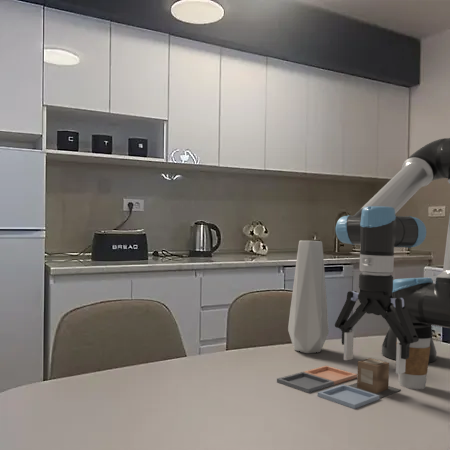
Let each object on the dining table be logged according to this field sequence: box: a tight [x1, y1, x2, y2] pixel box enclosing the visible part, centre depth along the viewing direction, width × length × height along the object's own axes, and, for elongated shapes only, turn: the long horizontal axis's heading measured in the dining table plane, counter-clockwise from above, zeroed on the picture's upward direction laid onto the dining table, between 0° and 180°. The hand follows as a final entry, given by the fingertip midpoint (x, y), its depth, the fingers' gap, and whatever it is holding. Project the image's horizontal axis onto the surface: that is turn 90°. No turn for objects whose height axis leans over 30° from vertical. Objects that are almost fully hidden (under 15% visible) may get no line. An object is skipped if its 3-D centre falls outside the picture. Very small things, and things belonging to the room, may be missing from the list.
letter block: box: [356, 357, 390, 393], centre depth 116 cm, size 5×5×6 cm
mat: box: [348, 382, 401, 400], centre depth 117 cm, size 9×9×1 cm
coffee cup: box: [396, 322, 434, 390], centre depth 121 cm, size 8×8×15 cm
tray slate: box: [316, 383, 380, 410], centre depth 110 cm, size 9×9×1 cm
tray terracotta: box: [303, 365, 358, 386], centre depth 126 cm, size 9×9×1 cm
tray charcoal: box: [276, 371, 335, 394], centre depth 119 cm, size 9×9×1 cm
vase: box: [287, 239, 330, 354], centre depth 152 cm, size 12×12×33 cm
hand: (373, 366), depth 117 cm, fingers open, 13 cm apart
